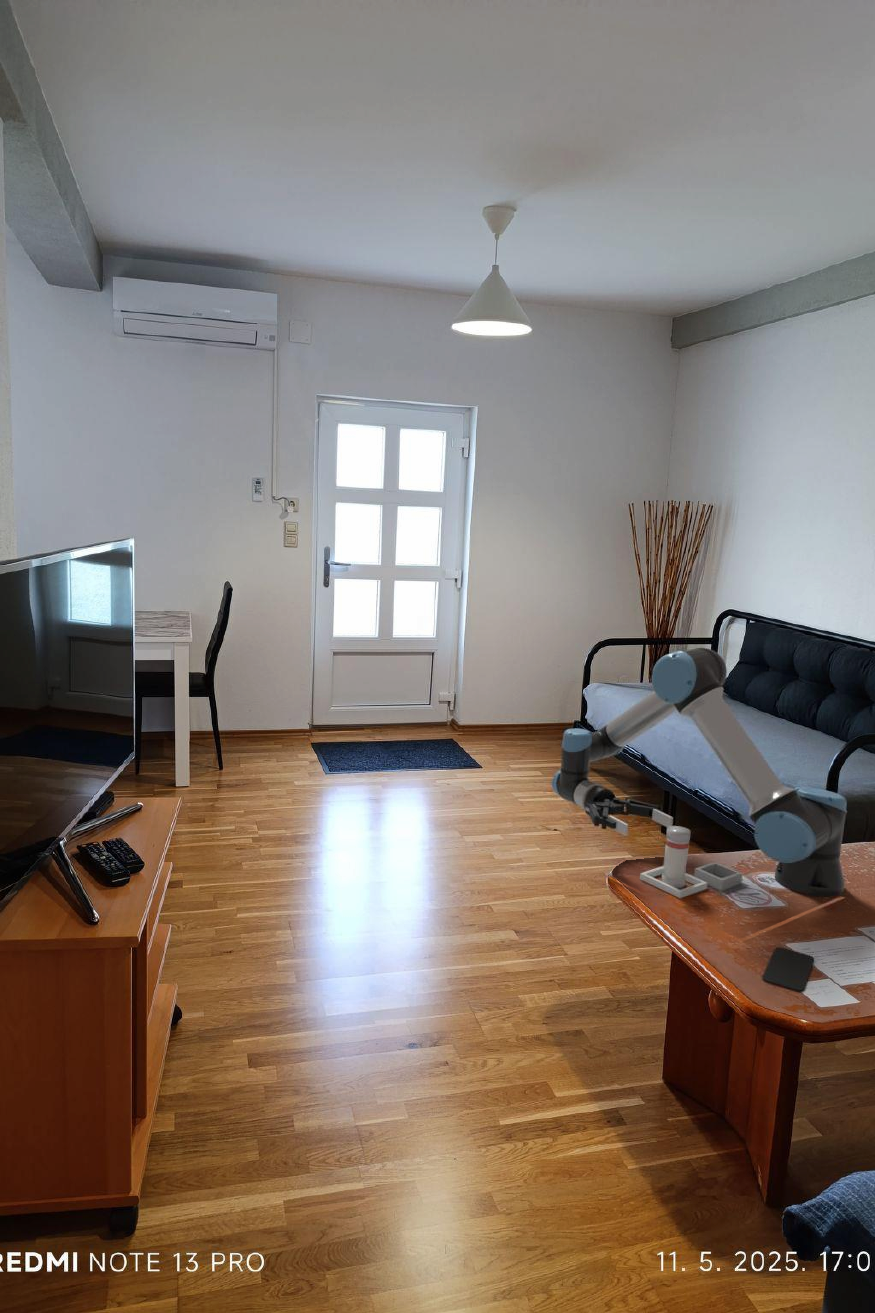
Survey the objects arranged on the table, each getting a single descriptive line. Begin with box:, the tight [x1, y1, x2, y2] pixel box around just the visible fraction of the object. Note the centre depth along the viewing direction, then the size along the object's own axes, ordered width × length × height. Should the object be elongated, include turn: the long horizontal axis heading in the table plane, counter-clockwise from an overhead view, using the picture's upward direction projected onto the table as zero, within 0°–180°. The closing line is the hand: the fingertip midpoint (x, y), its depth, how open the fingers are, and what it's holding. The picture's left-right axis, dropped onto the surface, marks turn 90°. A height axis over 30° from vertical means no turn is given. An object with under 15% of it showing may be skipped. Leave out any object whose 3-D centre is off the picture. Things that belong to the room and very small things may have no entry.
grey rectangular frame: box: [639, 865, 708, 899], centre depth 208 cm, size 12×10×2 cm
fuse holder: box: [690, 861, 750, 895], centre depth 210 cm, size 11×9×3 cm
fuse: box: [660, 825, 691, 890], centre depth 207 cm, size 5×5×13 cm
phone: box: [762, 946, 815, 993], centre depth 173 cm, size 7×1×15 cm
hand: (649, 826), depth 214 cm, fingers open, 13 cm apart
